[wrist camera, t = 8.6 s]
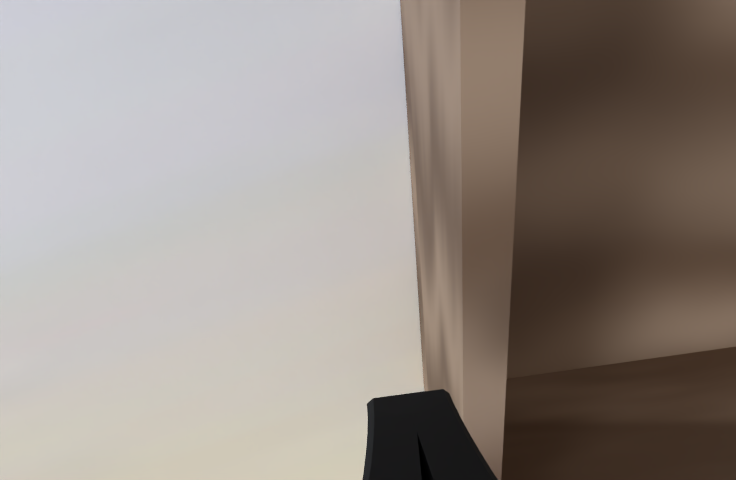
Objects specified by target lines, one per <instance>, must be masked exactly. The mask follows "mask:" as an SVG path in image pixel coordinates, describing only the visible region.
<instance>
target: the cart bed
mask: <svg viewBox="0 0 736 480" xmlns="http://www.w3.org/2000/svg"><path fill="white" fill-rule="evenodd" d="M400 4H401V20H402V36H403V52H404V69H405V85H406V101H407V117H408V134H409V150H410V166H411V183H412V199H413V215H414V231H415V248H416V264H417V280H418V297H419V313H420V329H421V345H422V362H423V378H424V390H425V391H432V390H439V389H444V390H445V391H447V392H448V393H449V394H450V396H451V398H452V401H453V403H454V405H455V407H456V409H457V411H458V413H459V415H460V417H461V419H462V421H463V423H464V424H465V426H466V428H467V430H468V432H469V433H470V435H471V437H472V439H473V440H474V442H475V444H476V445H477V447H478V449H479V450H480V452H481V454H482V455H483V457H484V459H485V460H486V462H487V464H488V465H489V467H490V468H491V470H492V471H493V473H494V475H495V476H496V478H497V479H498V480H736V0H400Z"/></svg>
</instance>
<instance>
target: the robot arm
mask: <svg viewBox="0 0 736 480" xmlns="http://www.w3.org/2000/svg"><path fill="white" fill-rule="evenodd" d="M367 410H368V436H367V449H366V458H365V466H364V474H363V480H498V479H497V478H496V476H495V475H494V473H493V471H492V470H491V468H490V467H489V465H488V464H487V462H486V460H485V459H484V457H483V455H482V454H481V452H480V450H479V449H478V447H477V445H476V444H475V442H474V440H473V439H472V437H471V435H470V433H469V432H468V430H467V428H466V426H465V424H464V423H463V421H462V419H461V417H460V415H459V413H458V411H457V409H456V407H455V405H454V403H453V401H452V398H451V396H450V394H449V393H448V392H447V391H445V390H444V389H439V390H432V391H424V392H417V393H410V394H402V395H395V396H387V397H380V398H373V399H372V400H371V401H370V402H369V403H367Z"/></svg>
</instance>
